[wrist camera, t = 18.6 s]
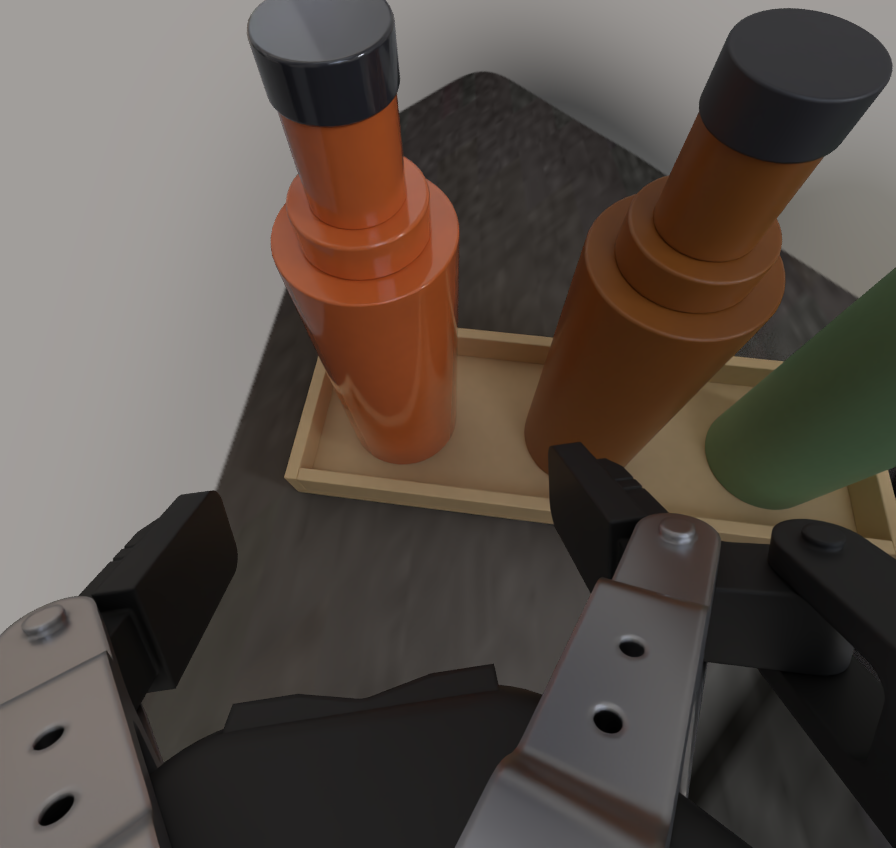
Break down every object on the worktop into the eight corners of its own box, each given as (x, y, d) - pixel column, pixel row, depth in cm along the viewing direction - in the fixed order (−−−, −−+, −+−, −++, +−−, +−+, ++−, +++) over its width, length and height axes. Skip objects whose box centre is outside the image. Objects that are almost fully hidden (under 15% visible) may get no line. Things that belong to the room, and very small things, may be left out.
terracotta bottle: (379, 483, 24) (222, 150, 8) (337, 397, 26) (144, -12, 10) (475, 435, 25) (516, 53, 9) (427, 356, 27) (389, -75, 11)
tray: (298, 492, 24) (283, 477, 22) (339, 338, 28) (329, 314, 26) (868, 564, 22) (911, 556, 20) (829, 390, 26) (863, 369, 24)
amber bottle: (561, 505, 23) (808, 197, 7) (504, 415, 25) (595, 16, 9) (652, 456, 24) (1049, 88, 8) (590, 373, 26) (810, -54, 10)
